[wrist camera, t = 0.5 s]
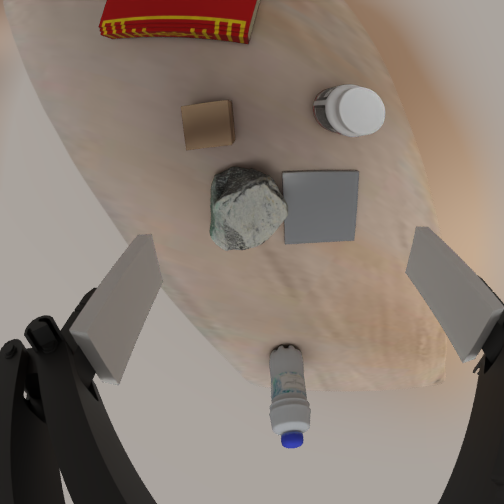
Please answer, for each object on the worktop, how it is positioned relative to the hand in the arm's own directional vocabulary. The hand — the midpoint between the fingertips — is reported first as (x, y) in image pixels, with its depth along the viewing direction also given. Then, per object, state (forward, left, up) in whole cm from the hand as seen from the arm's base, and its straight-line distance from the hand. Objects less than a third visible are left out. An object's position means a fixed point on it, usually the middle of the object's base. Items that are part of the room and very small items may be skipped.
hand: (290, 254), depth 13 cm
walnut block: (-5, -7, -24) cm, 25 cm away
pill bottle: (-6, +8, -24) cm, 26 cm away
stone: (+7, -5, -24) cm, 26 cm away
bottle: (+36, +1, -24) cm, 43 cm away
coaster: (+7, +6, -23) cm, 25 cm away
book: (-24, -8, -24) cm, 35 cm away
